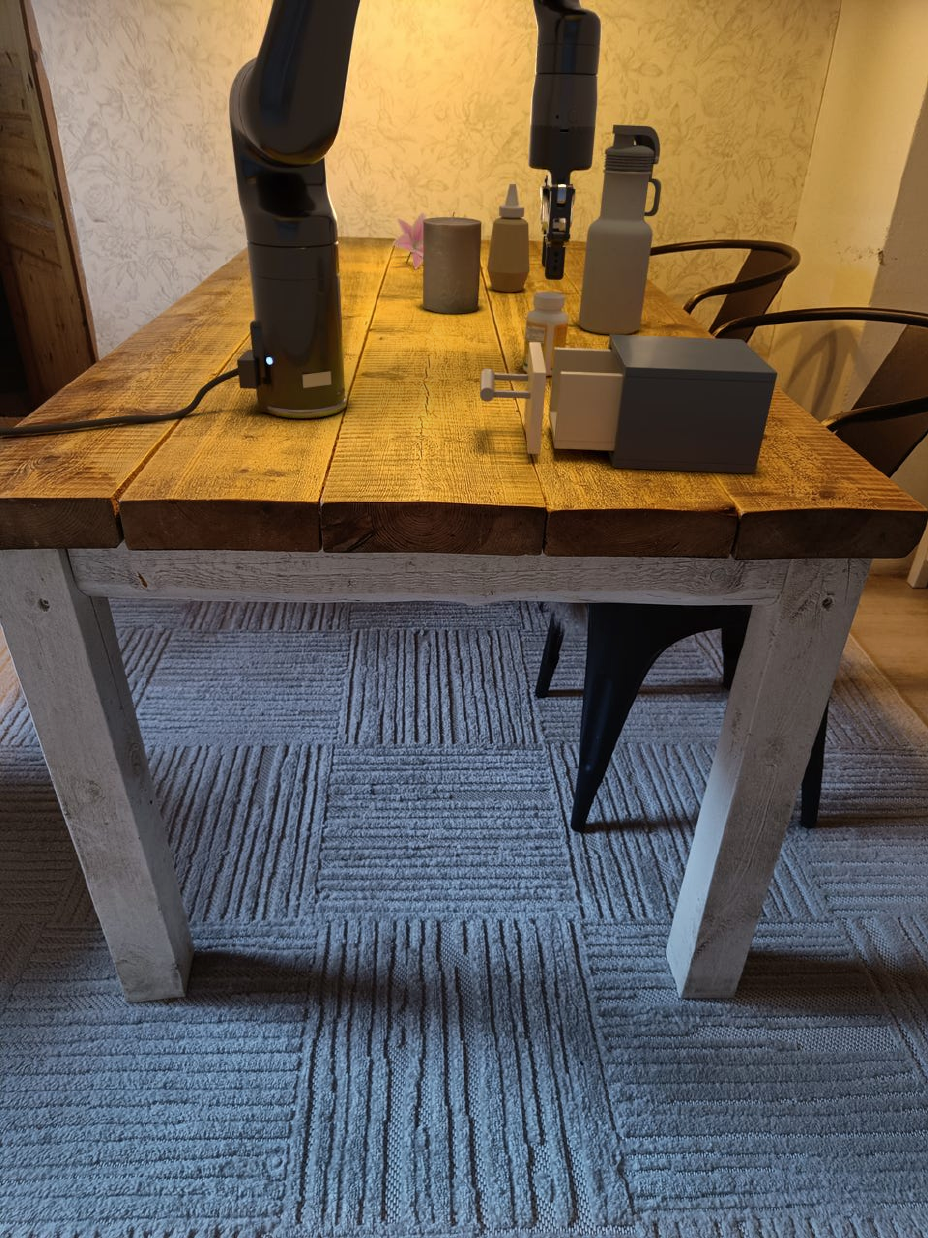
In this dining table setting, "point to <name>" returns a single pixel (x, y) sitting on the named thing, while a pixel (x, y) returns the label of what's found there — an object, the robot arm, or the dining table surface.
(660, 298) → the dining table surface
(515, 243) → the squeeze bottle
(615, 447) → the cabinet
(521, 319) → the dining table surface
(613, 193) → the water bottle
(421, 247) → the lily
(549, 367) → the supplement bottle
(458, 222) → the pillar candle
